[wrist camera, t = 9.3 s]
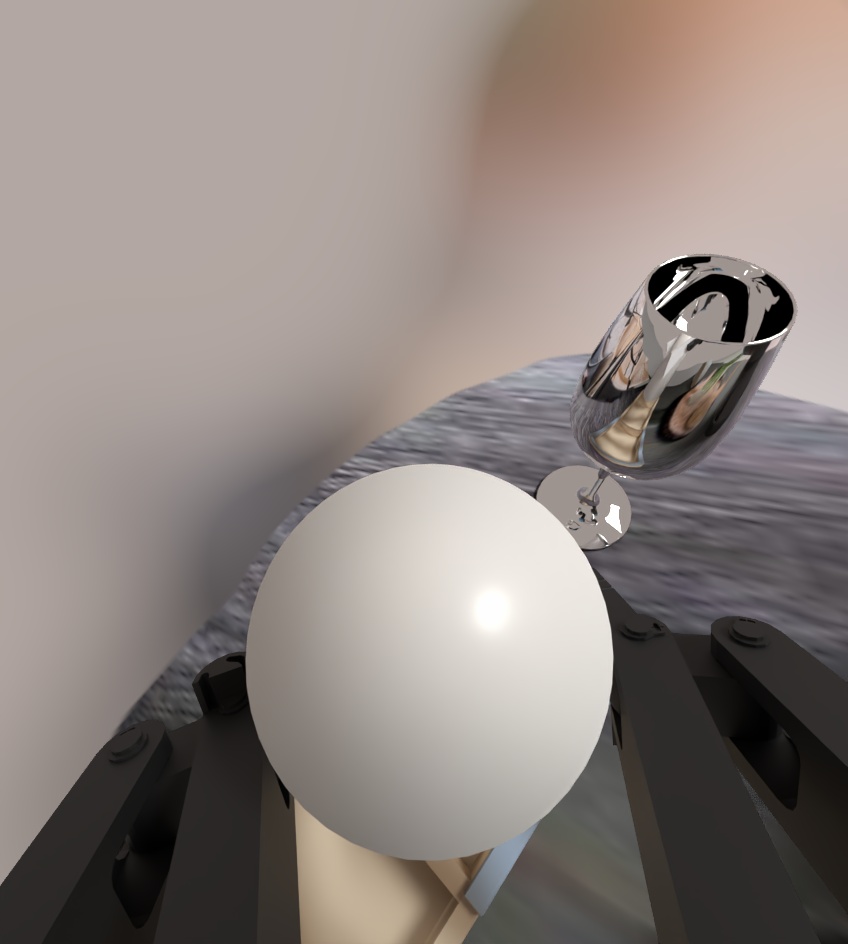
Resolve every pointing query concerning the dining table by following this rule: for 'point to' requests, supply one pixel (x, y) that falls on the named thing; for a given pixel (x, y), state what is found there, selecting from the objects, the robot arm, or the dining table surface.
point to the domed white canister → (429, 662)
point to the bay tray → (391, 889)
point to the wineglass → (667, 385)
